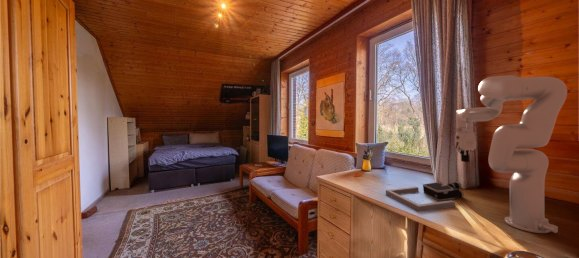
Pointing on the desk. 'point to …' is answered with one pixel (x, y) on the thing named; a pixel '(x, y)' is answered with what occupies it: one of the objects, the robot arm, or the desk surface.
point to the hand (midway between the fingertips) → (465, 161)
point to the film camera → (443, 191)
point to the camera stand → (418, 207)
